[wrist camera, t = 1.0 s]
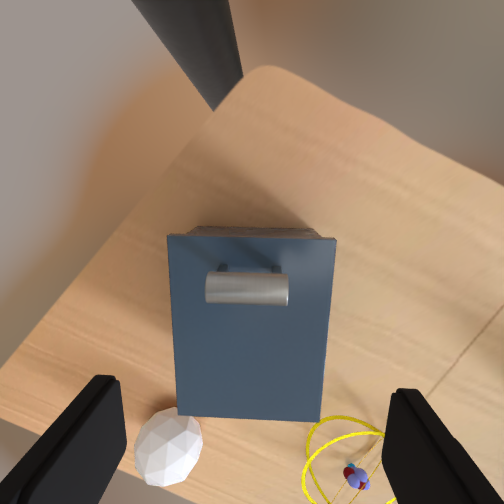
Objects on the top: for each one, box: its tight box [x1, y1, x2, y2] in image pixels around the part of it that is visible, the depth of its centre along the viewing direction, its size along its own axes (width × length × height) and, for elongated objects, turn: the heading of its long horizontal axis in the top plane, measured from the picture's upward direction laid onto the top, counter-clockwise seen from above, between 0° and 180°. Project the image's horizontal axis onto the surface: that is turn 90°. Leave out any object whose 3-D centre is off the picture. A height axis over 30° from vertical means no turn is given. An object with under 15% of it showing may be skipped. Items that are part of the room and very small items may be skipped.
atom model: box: [301, 415, 396, 504], centre depth 31 cm, size 14×15×14 cm
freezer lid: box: [167, 234, 337, 423], centre depth 21 cm, size 16×13×6 cm
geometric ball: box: [134, 407, 203, 487], centre depth 33 cm, size 8×8×8 cm
